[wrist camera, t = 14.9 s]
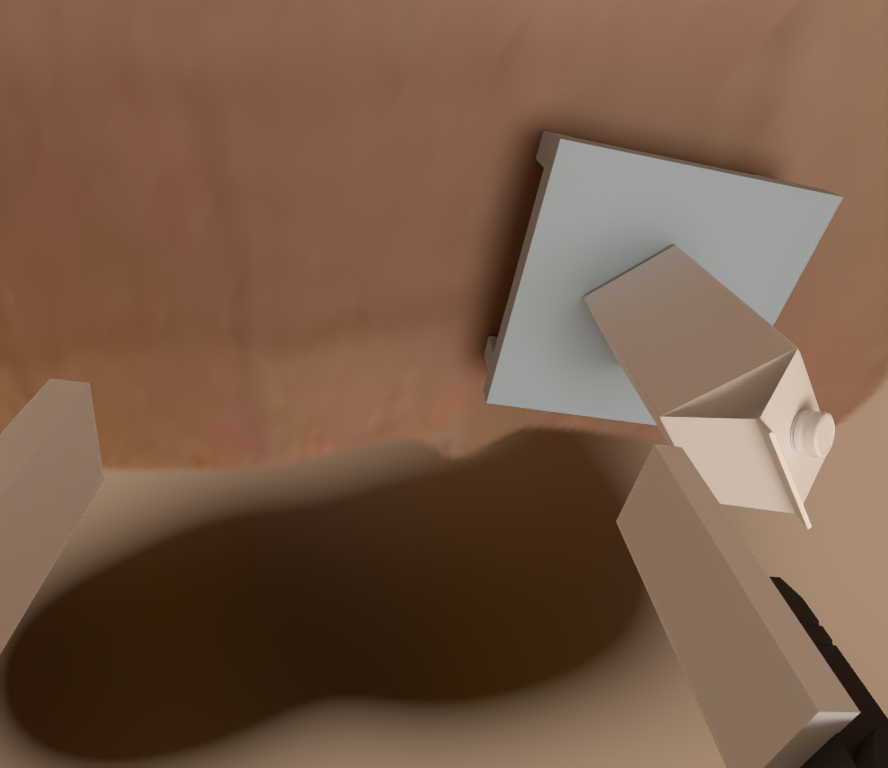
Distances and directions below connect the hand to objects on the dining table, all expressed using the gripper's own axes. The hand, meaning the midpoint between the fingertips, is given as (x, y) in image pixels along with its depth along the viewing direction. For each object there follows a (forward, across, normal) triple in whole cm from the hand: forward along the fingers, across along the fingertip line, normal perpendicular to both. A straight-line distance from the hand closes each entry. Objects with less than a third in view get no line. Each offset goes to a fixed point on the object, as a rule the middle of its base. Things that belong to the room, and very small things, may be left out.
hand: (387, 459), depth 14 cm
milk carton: (+27, +20, -6) cm, 34 cm away
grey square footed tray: (+34, +20, -6) cm, 40 cm away
